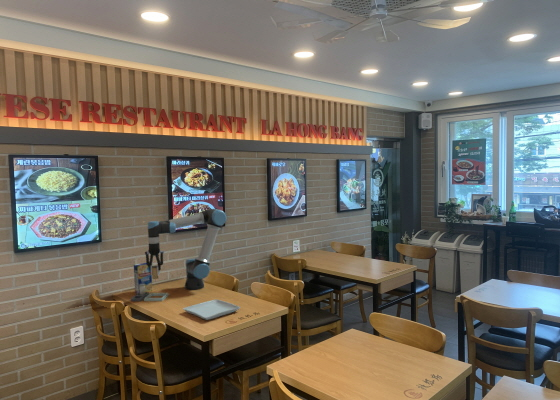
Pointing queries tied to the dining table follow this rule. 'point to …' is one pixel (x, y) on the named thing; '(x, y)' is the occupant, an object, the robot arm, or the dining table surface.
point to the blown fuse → (154, 272)
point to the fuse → (142, 289)
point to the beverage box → (142, 277)
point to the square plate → (211, 309)
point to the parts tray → (156, 298)
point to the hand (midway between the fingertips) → (155, 274)
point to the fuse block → (139, 297)
